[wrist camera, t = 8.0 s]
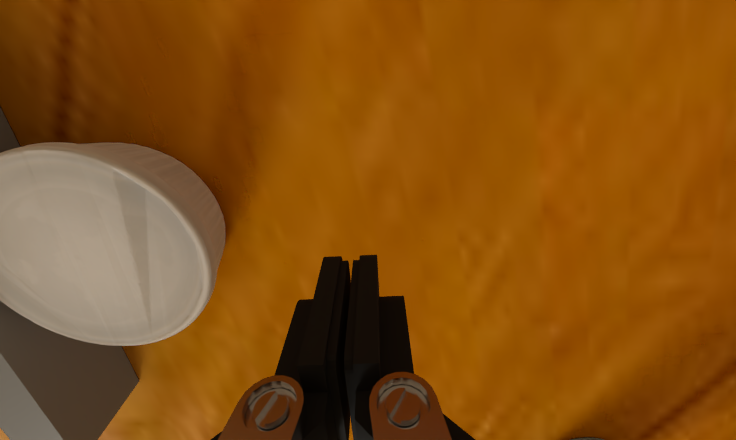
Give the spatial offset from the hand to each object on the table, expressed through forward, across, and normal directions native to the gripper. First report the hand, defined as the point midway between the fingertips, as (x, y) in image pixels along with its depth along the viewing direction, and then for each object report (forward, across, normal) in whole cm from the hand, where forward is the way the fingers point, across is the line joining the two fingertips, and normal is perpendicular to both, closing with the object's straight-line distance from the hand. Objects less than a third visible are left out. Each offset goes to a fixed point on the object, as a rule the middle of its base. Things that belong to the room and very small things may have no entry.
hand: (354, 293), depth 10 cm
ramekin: (+10, +13, +1) cm, 17 cm away
